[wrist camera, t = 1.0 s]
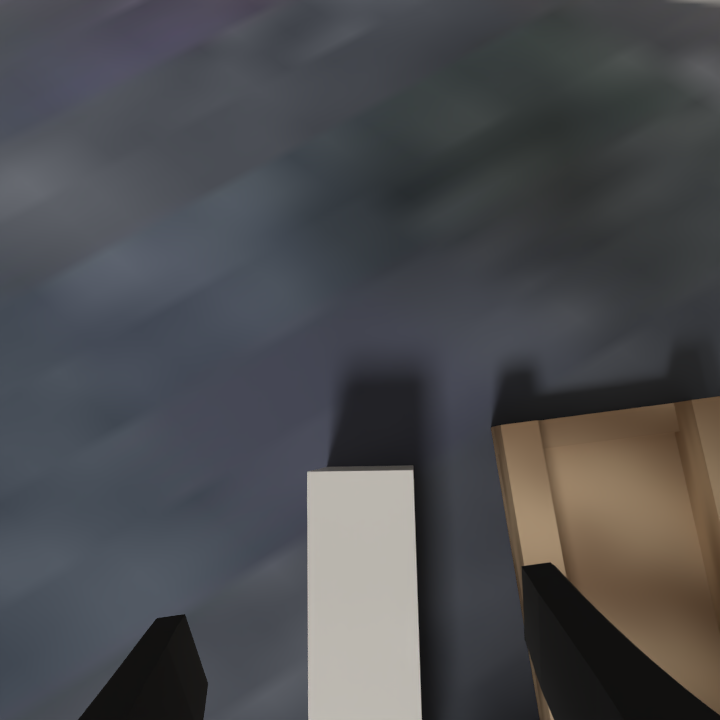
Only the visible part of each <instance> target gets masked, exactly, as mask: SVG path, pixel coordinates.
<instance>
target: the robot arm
mask: <svg viewBox="0 0 720 720" xmlns="http://www.w3.org/2000/svg"><path fill="white" fill-rule="evenodd" d="M521 567H522V589H523V611H524V633H525V641H526V644H527V648H528V651H529V654H530V657H531V660H532V663H533V667H534V670H535V673H536V676H537V679H538V682H539V685H540V688H541V691H542V693H543V695H544V698H545V700H546V702H547V705H548V707H549V709H550V711H551V714H552V716H553V718H554V720H720V715H719V714H718V713H716V712H715V711H714V710H712V709H711V708H710V707H708V706H707V705H706V704H705V703H703V702H702V701H701V700H699V699H698V698H697V697H696V696H694V695H693V694H692V693H691V692H689V691H688V690H687V689H686V688H684V687H683V686H682V685H681V684H680V683H678V682H677V681H676V680H675V679H674V678H672V677H671V676H670V675H669V674H668V673H666V672H665V671H664V670H663V669H662V668H661V667H659V666H658V665H657V664H656V663H655V662H653V661H652V660H651V659H650V658H649V657H648V656H647V655H646V654H644V653H643V652H642V651H641V650H640V649H639V648H638V647H637V646H635V645H634V644H633V643H632V642H631V641H630V640H629V639H628V638H627V637H626V636H625V635H624V634H623V633H621V632H620V631H619V630H618V629H617V628H616V627H615V626H614V625H613V624H612V623H611V622H610V621H609V620H608V619H607V618H606V617H605V616H603V615H602V614H601V613H600V612H599V611H598V610H597V609H596V608H595V607H594V606H593V605H592V604H591V603H590V602H589V601H588V600H587V599H586V598H585V597H584V596H583V595H582V594H581V593H580V591H579V590H578V589H577V588H576V587H575V586H574V585H573V584H572V583H571V582H570V581H569V580H568V579H567V578H566V577H565V576H564V575H563V574H562V573H561V571H560V570H559V569H558V568H557V567H556V566H555V565H553V564H552V563H551V562H548V563H541V564H534V565H527V566H521ZM207 688H208V682H207V679H206V676H205V673H204V670H203V667H202V664H201V661H200V658H199V655H198V652H197V649H196V646H195V643H194V640H193V637H192V634H191V631H190V628H189V625H188V622H187V619H186V616H185V614H184V615H177V616H170V617H163V618H157V619H156V620H155V621H154V623H153V624H152V625H151V626H150V628H149V629H148V630H147V631H146V633H145V634H144V635H143V637H142V638H141V639H140V641H139V642H138V643H137V644H136V646H135V647H134V648H133V650H132V651H131V652H130V654H129V655H128V656H127V658H126V659H125V660H124V662H123V663H122V664H121V666H120V667H119V668H118V669H117V671H116V672H115V673H114V675H113V676H112V677H111V679H110V680H109V681H108V683H107V684H106V685H105V686H104V688H103V689H102V690H101V691H100V693H99V694H98V695H97V696H96V698H95V699H94V700H93V702H92V703H91V704H90V705H89V707H88V708H87V709H86V710H85V712H84V713H83V714H82V716H81V717H80V718H79V719H78V720H203V718H204V711H205V703H206V695H207Z"/></svg>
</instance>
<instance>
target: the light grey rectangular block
mask: <svg viewBox="0 0 720 720" xmlns="http://www.w3.org/2000/svg"><path fill="white" fill-rule="evenodd" d="M307 518H308V720H422V706H421V676H420V647H419V617H418V588H417V558H416V529H415V500H414V470H413V465H408V466H346V467H324V468H320V469H316V470H312V471H308V472H307Z"/></svg>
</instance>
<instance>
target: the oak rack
mask: <svg viewBox="0 0 720 720" xmlns="http://www.w3.org/2000/svg"><path fill="white" fill-rule="evenodd" d="M491 431H492V437H493V443H494V449H495V455H496V461H497V467H498V473H499V479H500V484H501V490H502V496H503V502H504V508H505V514H506V520H507V526H508V532H509V538H510V544H511V550H512V556H513V562H514V568H515V574H516V580H517V586H518V592H519V598H520V604H521V610H522V616H523V622H524V611H523V589H522V567H521V566H527V565H534V564H541V563H548V562H551V563H552V564H553V565H555V566H556V567H557V568H558V569H559V570H560V571H561V573H562V574H563V575H564V576H565V577H566V578H567V579H568V580H569V581H570V582H571V583H572V584H573V585H574V586H575V587H576V588H577V589H578V590H579V591H580V593H581V594H582V595H583V596H584V597H585V598H586V599H587V600H588V601H589V602H590V603H591V604H592V605H593V606H594V607H595V608H596V609H597V610H598V611H599V612H600V613H601V614H602V615H603V616H605V617H606V618H607V619H608V620H609V621H610V622H611V623H612V624H613V625H614V626H615V627H616V628H617V629H618V630H619V631H620V632H621V633H623V634H624V635H625V636H626V637H627V638H628V639H629V640H630V641H631V642H632V643H633V644H634V645H635V646H637V647H638V648H639V649H640V650H641V651H642V652H643V653H644V654H646V655H647V656H648V657H649V658H650V659H651V660H652V661H653V662H655V663H656V664H657V665H658V666H659V667H661V668H662V669H663V670H664V671H665V672H666V673H668V674H669V675H670V676H671V677H672V678H674V679H675V680H676V681H677V682H678V683H680V684H681V685H682V686H683V687H684V688H686V689H687V690H688V691H689V692H691V693H692V694H693V695H694V696H696V697H697V698H698V699H699V700H701V701H702V702H703V703H705V704H706V705H707V706H708V707H710V708H711V709H712V710H714V711H715V712H716V713H718V714H719V715H720V396H718V397H710V398H703V399H695V400H688V401H682V402H676V403H669V404H662V405H654V406H646V407H639V408H631V409H623V410H616V411H608V412H601V413H593V414H585V415H578V416H570V417H563V418H555V419H547V420H540V421H538V420H535V421H528V422H520V423H512V424H505V425H499V426H494V427H491ZM528 652H529V651H528ZM529 658H530V664H531V670H532V676H533V682H534V688H535V694H536V700H537V706H538V712H539V717H540V720H554V718H553V716H552V714H551V711H550V709H549V707H548V705H547V702H546V700H545V698H544V695H543V693H542V691H541V688H540V685H539V682H538V679H537V676H536V673H535V670H534V667H533V663H532V660H531V657H530V654H529Z"/></svg>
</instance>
